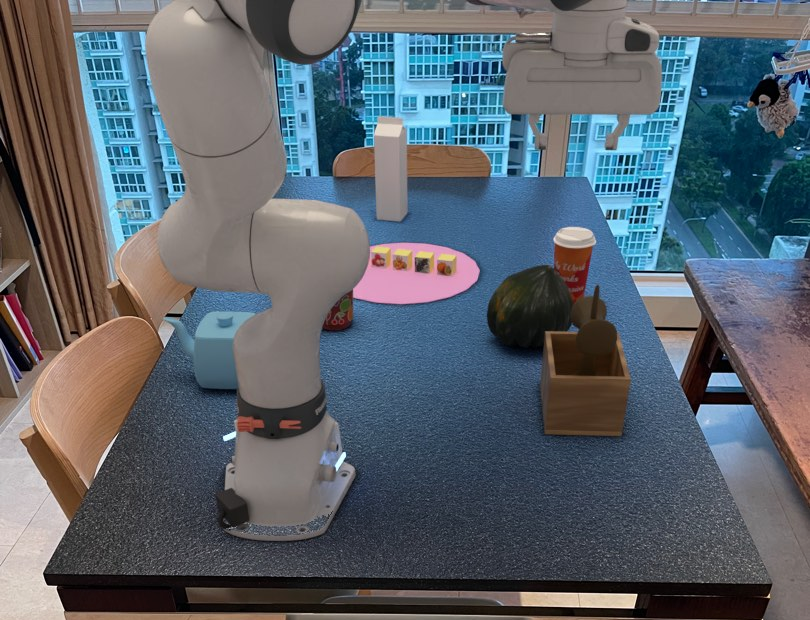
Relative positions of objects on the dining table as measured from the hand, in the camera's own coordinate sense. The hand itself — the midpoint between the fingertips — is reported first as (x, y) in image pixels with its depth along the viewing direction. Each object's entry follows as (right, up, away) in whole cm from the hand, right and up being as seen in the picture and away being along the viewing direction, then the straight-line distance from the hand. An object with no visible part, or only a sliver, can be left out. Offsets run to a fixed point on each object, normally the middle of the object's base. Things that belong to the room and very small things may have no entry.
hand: (575, 149), depth 119 cm
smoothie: (-36, -12, +47) cm, 60 cm away
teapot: (-54, -25, +31) cm, 67 cm away
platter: (-23, +3, +65) cm, 69 cm away
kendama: (+5, -32, +21) cm, 38 cm away
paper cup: (+8, -8, +51) cm, 53 cm away
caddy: (+5, -32, +21) cm, 39 cm away
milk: (-26, +24, +91) cm, 97 cm away
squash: (-1, -17, +40) cm, 44 cm away
